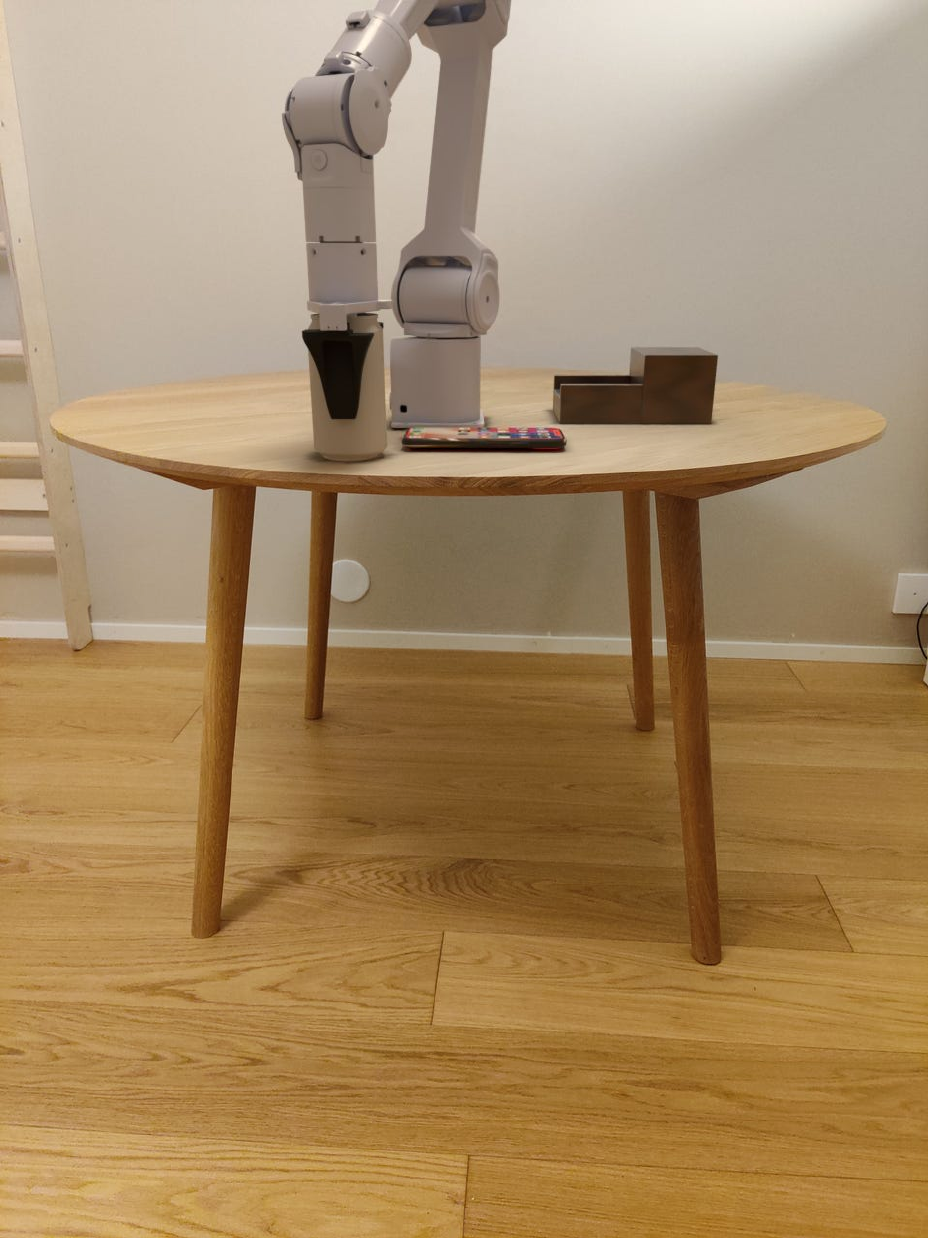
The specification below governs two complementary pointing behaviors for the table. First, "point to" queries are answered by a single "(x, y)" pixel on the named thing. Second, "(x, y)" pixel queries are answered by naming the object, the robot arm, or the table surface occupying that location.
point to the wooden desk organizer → (642, 390)
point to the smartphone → (483, 437)
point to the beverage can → (369, 427)
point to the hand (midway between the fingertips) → (348, 412)
